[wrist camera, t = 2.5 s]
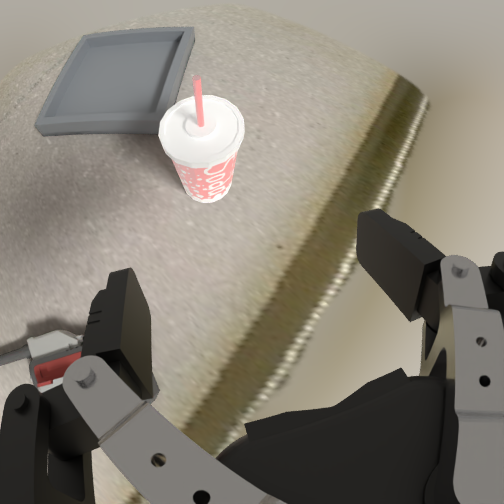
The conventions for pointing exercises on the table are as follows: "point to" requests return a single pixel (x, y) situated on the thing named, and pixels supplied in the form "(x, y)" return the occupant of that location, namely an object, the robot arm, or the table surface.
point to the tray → (118, 82)
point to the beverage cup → (203, 142)
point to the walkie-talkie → (53, 358)
